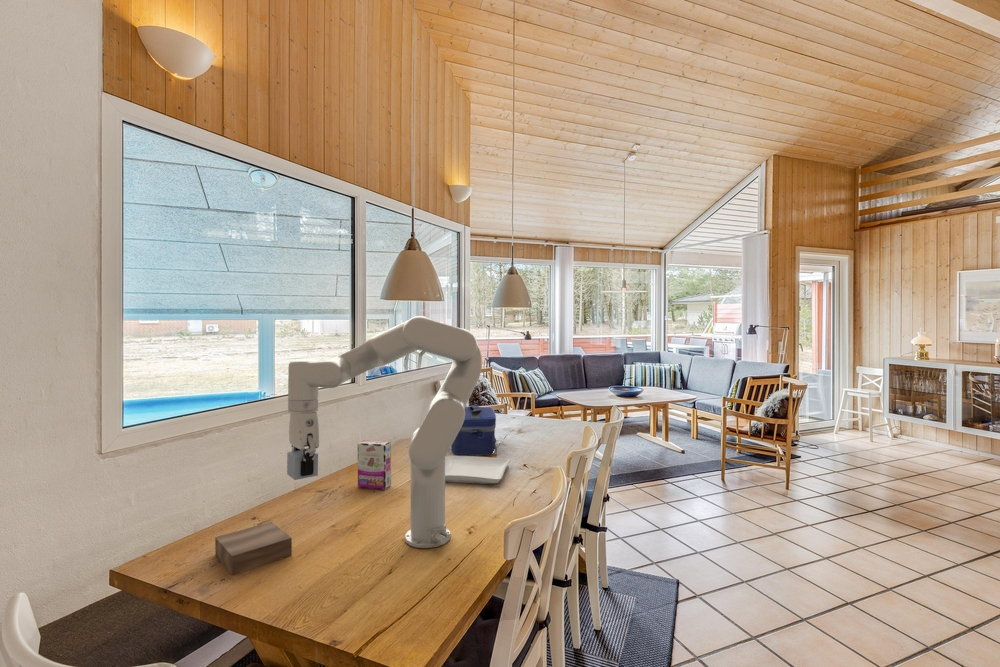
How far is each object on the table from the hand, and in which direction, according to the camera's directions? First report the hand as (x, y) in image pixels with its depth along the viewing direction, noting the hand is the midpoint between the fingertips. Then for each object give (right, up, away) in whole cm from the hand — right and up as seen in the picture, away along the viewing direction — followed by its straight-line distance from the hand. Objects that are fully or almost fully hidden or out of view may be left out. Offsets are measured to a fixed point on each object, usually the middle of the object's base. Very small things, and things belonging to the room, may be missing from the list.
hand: (302, 471), depth 131 cm
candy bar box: (+8, -19, +46) cm, 51 cm away
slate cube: (0, -1, 0) cm, 1 cm away
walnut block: (-11, -21, -5) cm, 24 cm away
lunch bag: (+41, -18, +101) cm, 110 cm away
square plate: (+42, -19, +62) cm, 77 cm away
